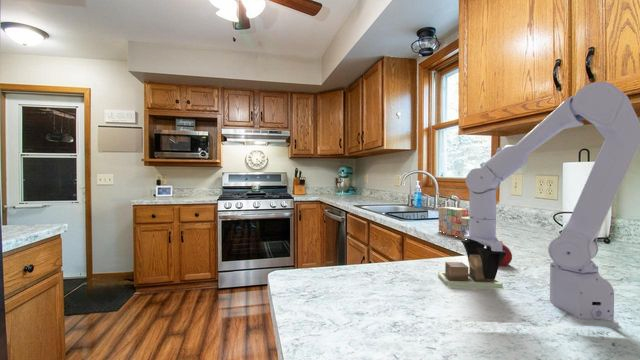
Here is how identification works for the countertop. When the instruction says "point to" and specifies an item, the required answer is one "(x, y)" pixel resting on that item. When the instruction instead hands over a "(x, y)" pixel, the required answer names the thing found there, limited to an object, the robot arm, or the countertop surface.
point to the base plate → (472, 283)
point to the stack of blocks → (453, 221)
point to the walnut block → (456, 271)
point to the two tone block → (477, 269)
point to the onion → (508, 257)
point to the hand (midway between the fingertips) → (481, 273)
